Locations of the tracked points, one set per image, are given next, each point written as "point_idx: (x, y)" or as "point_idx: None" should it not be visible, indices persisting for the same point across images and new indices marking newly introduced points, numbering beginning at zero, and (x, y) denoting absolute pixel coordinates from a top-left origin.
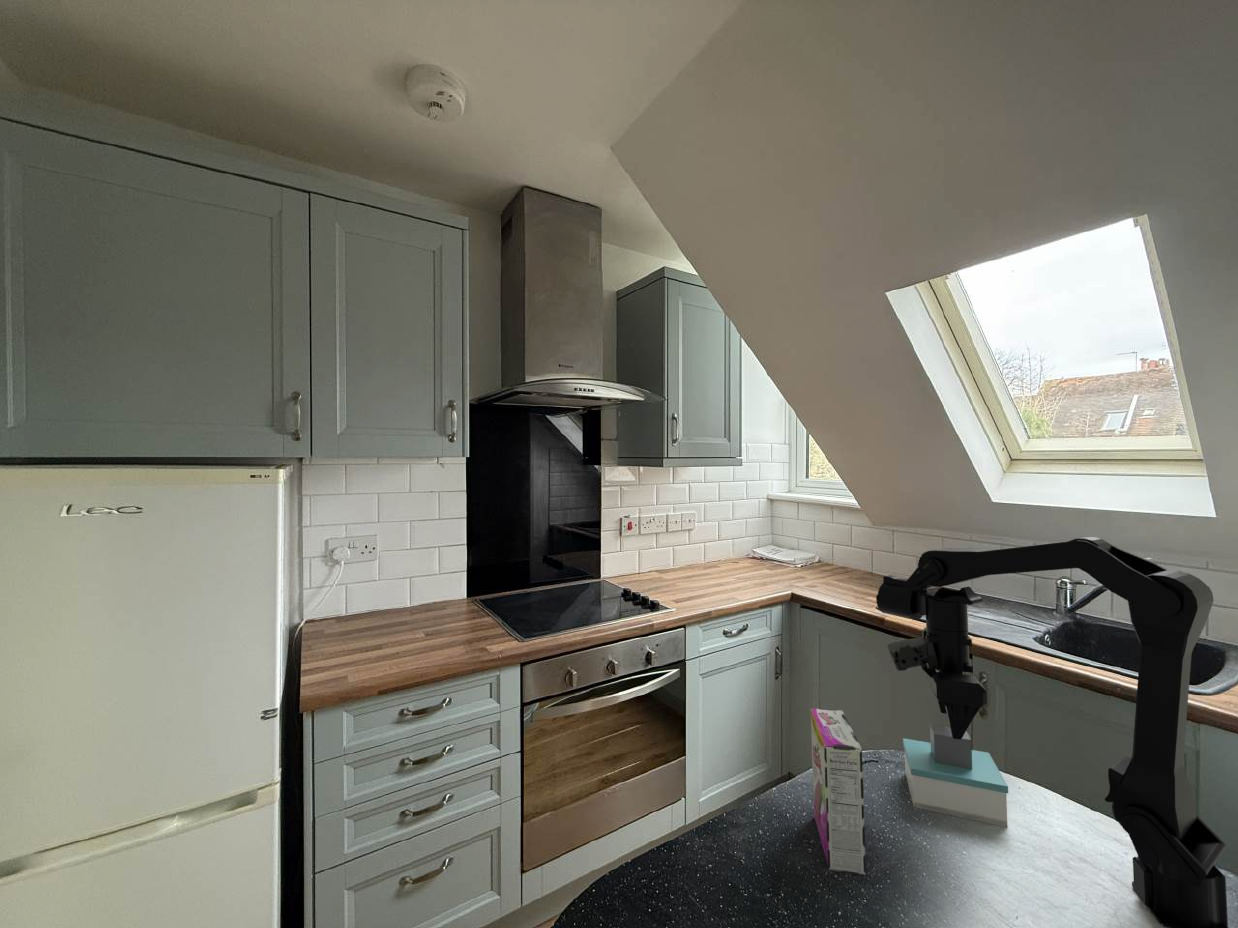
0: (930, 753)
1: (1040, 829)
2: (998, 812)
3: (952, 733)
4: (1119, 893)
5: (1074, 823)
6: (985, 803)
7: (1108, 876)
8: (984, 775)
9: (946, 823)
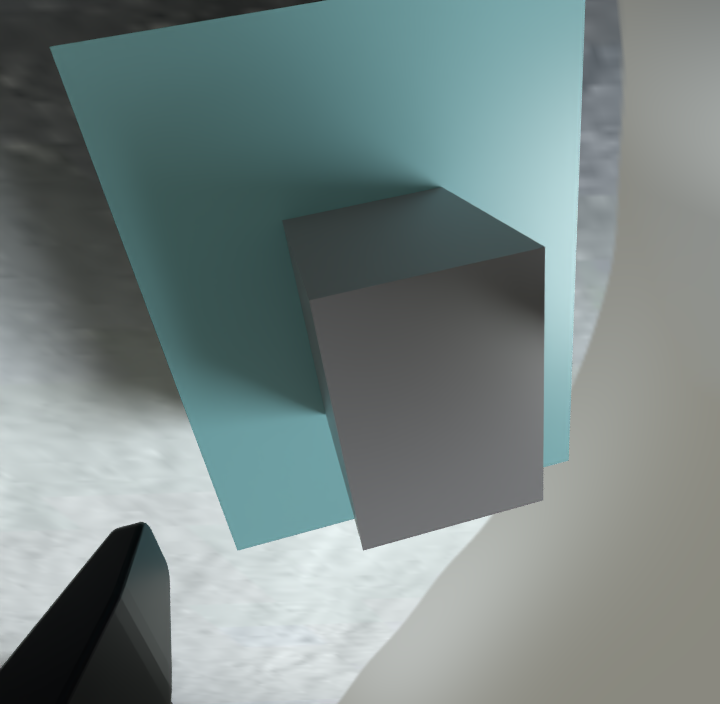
0: (409, 185)
1: None
2: None
3: (78, 574)
4: None
5: (394, 558)
6: None
7: None
8: (290, 464)
9: (88, 223)
